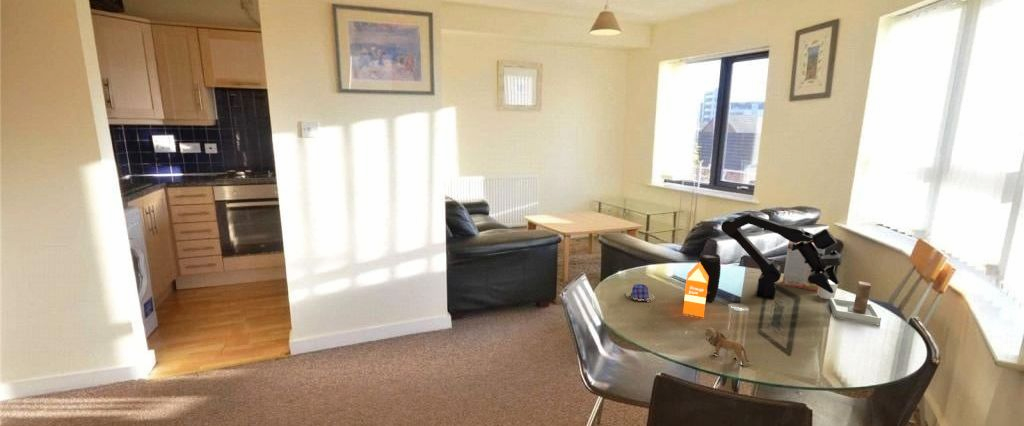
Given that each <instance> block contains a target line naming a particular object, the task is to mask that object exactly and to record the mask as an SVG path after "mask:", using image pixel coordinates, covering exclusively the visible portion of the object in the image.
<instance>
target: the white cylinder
mask: <svg viewBox="0 0 1024 426" xmlns="http://www.w3.org/2000/svg"><path fill="white" fill-rule="evenodd" d="M828 281H829V283H830V285H831V287H832V289H833V291H834V293H830V292H828V291H826V290H825V289H823V288H821V287H819V288H818V291H817V293H818V294H817V295H818V297H820V298H822V299H827V300H830V298H835V296H836V292H837V289H838V286H839V284H835V283H833V282H832V281H831V280H830V279H828Z"/></svg>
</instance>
